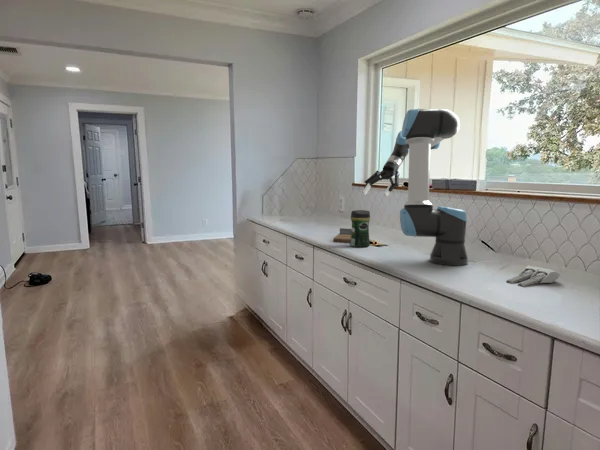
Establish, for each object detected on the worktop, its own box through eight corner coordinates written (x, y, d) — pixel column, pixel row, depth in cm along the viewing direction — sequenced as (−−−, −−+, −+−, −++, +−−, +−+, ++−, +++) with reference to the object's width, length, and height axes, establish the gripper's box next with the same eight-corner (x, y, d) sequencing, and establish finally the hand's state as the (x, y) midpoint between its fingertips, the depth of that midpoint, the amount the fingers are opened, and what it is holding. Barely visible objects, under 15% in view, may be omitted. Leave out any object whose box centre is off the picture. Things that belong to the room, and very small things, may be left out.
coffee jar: (364, 244, 199) (365, 209, 196) (371, 247, 191) (373, 210, 189) (347, 245, 196) (348, 209, 193) (354, 248, 188) (355, 211, 186)
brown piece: (359, 243, 200) (359, 234, 200) (333, 242, 204) (333, 232, 204) (364, 238, 219) (364, 229, 218) (340, 236, 223) (340, 228, 222)
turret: (501, 287, 134) (500, 274, 133) (537, 273, 142) (537, 261, 141) (528, 295, 125) (528, 282, 124) (565, 280, 133) (565, 267, 132)
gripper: (415, 171, 199) (397, 201, 191) (375, 170, 217) (358, 197, 209) (410, 160, 194) (392, 190, 186) (370, 161, 212) (352, 188, 204)
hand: (374, 194), depth 198 cm, fingers open, 13 cm apart
